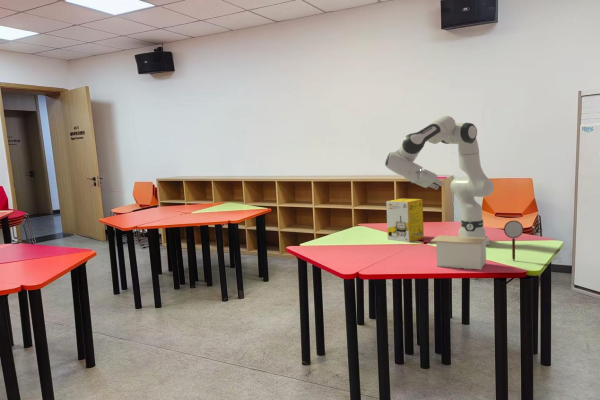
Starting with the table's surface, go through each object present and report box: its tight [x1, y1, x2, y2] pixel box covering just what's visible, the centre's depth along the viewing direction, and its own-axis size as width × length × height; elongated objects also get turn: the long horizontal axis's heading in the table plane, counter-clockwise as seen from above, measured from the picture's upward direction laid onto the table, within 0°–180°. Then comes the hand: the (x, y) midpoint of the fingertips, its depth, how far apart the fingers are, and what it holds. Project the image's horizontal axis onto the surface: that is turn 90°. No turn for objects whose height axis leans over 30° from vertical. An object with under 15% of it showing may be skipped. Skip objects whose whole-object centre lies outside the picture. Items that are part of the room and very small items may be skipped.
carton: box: [435, 239, 487, 271], centre depth 214 cm, size 13×20×12 cm, turn 57°
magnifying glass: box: [503, 220, 524, 262], centre depth 215 cm, size 9×2×20 cm, turn 77°
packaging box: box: [385, 198, 425, 243], centre depth 284 cm, size 16×16×25 cm
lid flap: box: [430, 235, 486, 245], centre depth 214 cm, size 14×22×1 cm, turn 57°
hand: (440, 186), depth 220 cm, fingers open, 8 cm apart
